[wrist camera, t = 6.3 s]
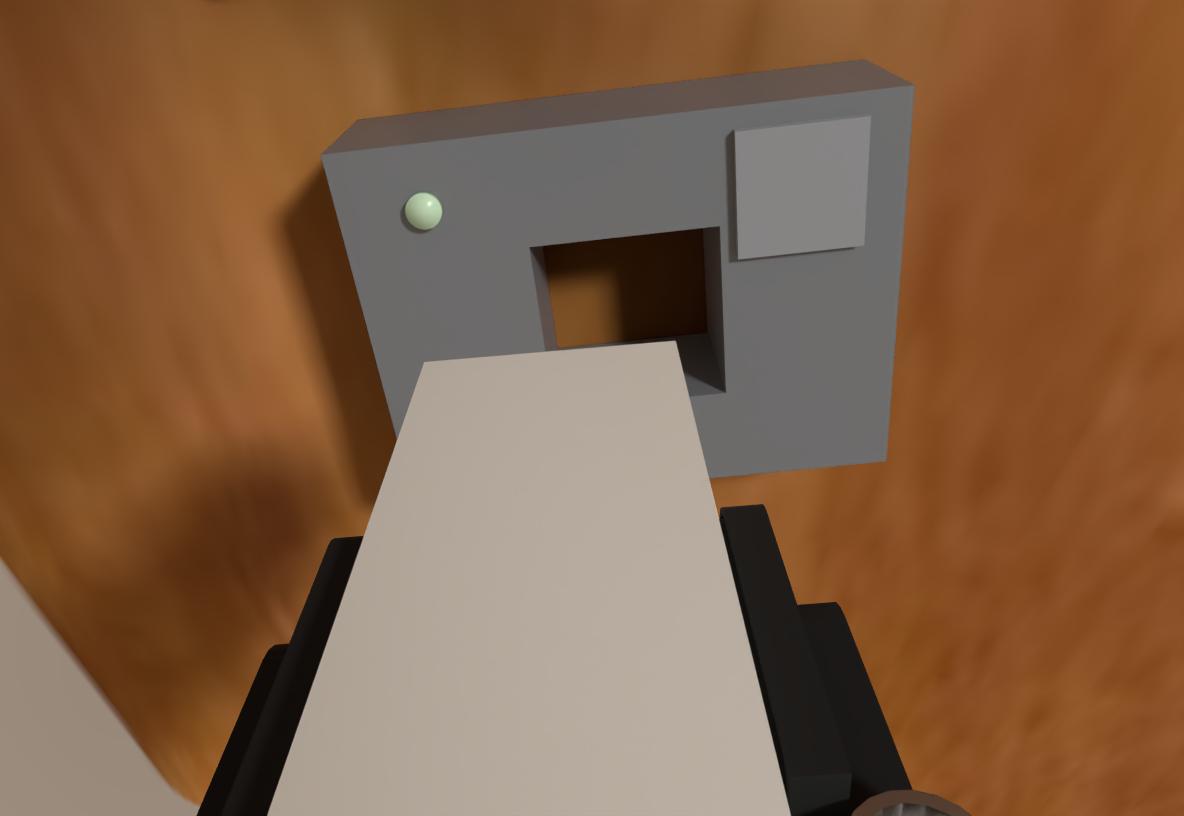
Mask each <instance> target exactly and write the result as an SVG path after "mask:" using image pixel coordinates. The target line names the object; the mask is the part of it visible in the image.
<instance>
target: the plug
mask: <svg viewBox="0 0 1184 816" xmlns="http://www.w3.org/2000/svg"><path fill="white" fill-rule="evenodd" d="M267 816H791V814H790V810H789V806H788V802H787V797H786V793H785V789H784V785H783V781H782V777H781V773H780V769H779V764H778V760H777V756H776V752H775V748H774V744H773V740H772V736H771V731H770V727H769V723H768V719H767V715H766V711H765V707H764V703H763V699H762V694H761V690H760V686H759V682H758V678H757V674H756V670H755V666H754V661H753V657H752V653H751V649H750V645H749V641H748V637H747V633H746V629H745V624H744V620H743V616H742V612H741V608H740V604H739V600H738V596H737V591H736V587H735V583H734V579H733V575H732V571H731V567H730V563H729V559H728V554H727V550H726V546H725V542H724V538H723V534H722V530H721V526H720V521H719V517H718V513H717V509H716V505H715V501H714V497H713V493H712V489H711V484H710V480H709V476H708V472H707V468H706V464H705V460H704V456H703V451H702V447H701V443H700V439H699V435H698V431H697V427H696V423H695V418H694V414H693V410H692V406H691V402H690V398H689V394H688V390H687V386H686V381H685V377H684V373H683V369H682V365H681V361H680V357H679V353H678V348H677V344H676V341H666V342H654V343H643V344H631V345H619V346H607V347H595V348H584V349H572V350H560V351H548V352H537V353H525V354H513V355H501V356H489V357H478V358H466V359H454V360H442V361H430V362H424V364H423V367H422V370H421V373H420V376H419V379H418V381H417V384H416V387H415V390H414V393H413V396H412V399H411V402H410V405H409V407H408V410H407V413H406V416H405V419H404V422H403V425H402V428H401V431H400V433H399V436H398V439H397V442H396V445H395V448H394V451H393V454H392V456H391V459H390V462H389V465H388V468H387V471H386V474H385V477H384V480H383V482H382V485H381V488H380V491H379V494H378V497H377V500H376V503H375V506H374V508H373V511H372V514H371V517H370V520H369V523H368V526H367V529H366V532H365V534H364V537H363V540H362V543H361V546H360V549H359V552H358V555H357V558H356V560H355V563H354V566H353V569H352V572H351V575H350V578H349V581H348V584H347V586H346V589H345V592H344V595H343V598H342V601H341V604H340V607H339V610H338V612H337V615H336V618H335V621H334V624H333V627H332V630H331V633H330V636H329V638H328V641H327V644H326V647H325V650H324V653H323V656H322V659H321V662H320V664H319V667H318V670H317V673H316V676H315V679H314V682H313V685H312V688H311V690H310V693H309V696H308V699H307V702H306V705H305V708H304V711H303V714H302V716H301V719H300V722H299V725H298V728H297V731H296V734H295V737H294V740H293V742H292V745H291V748H290V751H289V754H288V757H287V760H286V763H285V766H284V768H283V771H282V774H281V777H280V780H279V783H278V786H277V789H276V792H275V794H274V797H273V800H272V803H271V806H270V809H269V812H268V815H267Z"/></svg>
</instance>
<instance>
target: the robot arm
mask: <svg viewBox="0 0 1184 816" xmlns="http://www.w3.org/2000/svg"><path fill="white" fill-rule="evenodd" d="M719 521H720V526H721V530H722V534H723V538H724V542H725V546H726V550H727V554H728V559H729V563H730V567H731V571H732V575H733V579H734V583H735V587H736V591H737V596H738V600H739V604H740V608H741V612H742V616H743V620H744V624H745V629H746V633H747V637H748V641H749V645H750V649H751V653H752V657H753V661H754V666H755V670H756V674H757V678H758V682H759V686H760V690H761V694H762V699H763V703H764V707H765V711H766V715H767V719H768V723H769V727H770V731H771V736H772V740H773V744H774V748H775V752H776V756H777V760H778V764H779V769H780V773H781V777H782V781H783V785H784V789H785V793H786V797H787V802H788V806H789V810H790V814H791V816H972V815H970V814H969V813H968V812H966V811H965V810H964V809H963V808H961V807H960V806H958V805H956V804H954V803H952V802H950V801H948V800H946V799H944V798H941V797H939V796H937V795H934V794H929V793H925V792H920V791H916V790H912V787H911V784H910V782H909V779H908V777H907V774H906V772H905V769H904V767H903V764H902V761H901V759H900V756H899V754H898V751H897V749H896V746H895V744H894V741H893V738H892V736H891V733H890V731H889V728H888V726H887V723H886V720H885V718H884V715H883V713H882V710H881V708H880V705H879V703H878V700H877V697H876V695H875V692H874V690H873V687H872V685H871V682H870V680H869V677H868V674H867V672H866V669H865V667H864V664H863V662H862V659H861V656H860V654H859V651H858V649H857V646H856V644H855V641H854V639H853V636H852V633H851V631H850V628H849V626H848V623H847V621H846V618H845V616H844V614H843V611H842V609H841V607H840V606H839V605H838V604H837V603H836V602H830V603H817V604H804V605H797V603H796V600H795V597H794V594H793V591H792V588H791V585H790V581H789V578H788V575H787V572H786V569H785V566H784V563H783V560H782V557H781V554H780V551H779V548H778V545H777V542H776V539H775V536H774V533H773V529H772V526H771V523H770V520H769V517H768V514H767V511H766V509H765V506H764V505H763V504H760V505H747V506H735V507H722V508H721V509H720V519H719ZM363 537H364V536H357V537H345V538H334V539H333V540H331V542H330V543H329V545H328V548H327V550H326V553H325V555H324V558H323V560H322V563H321V565H320V568H319V570H318V573H317V575H316V578H315V580H314V583H313V585H312V588H311V590H310V593H309V595H308V598H307V600H306V603H305V605H304V608H303V610H302V613H301V615H300V618H299V620H298V623H297V626H296V628H295V631H294V633H293V636H292V638H291V641H290V643H289V644H279V645H274V646H273V647H272V648H270V649H269V650H268V652H267V654H266V655H265V657H264V659H263V661H262V663H261V665H260V668H259V670H258V672H257V675H256V677H255V680H254V682H253V684H252V687H251V689H250V691H249V694H248V696H247V698H246V701H245V703H244V705H243V708H242V710H241V712H240V715H239V717H238V720H237V722H236V724H235V727H234V729H233V731H232V734H231V736H230V738H229V741H228V743H227V745H226V748H225V750H224V752H223V755H222V757H221V759H220V762H219V764H218V767H217V769H216V771H215V774H214V776H213V778H212V781H211V783H210V785H209V788H208V790H207V792H206V795H205V797H204V799H203V802H202V804H201V807H200V809H199V811H198V814H197V816H267V815H268V812H269V809H270V806H271V803H272V800H273V797H274V794H275V792H276V789H277V786H278V783H279V780H280V777H281V774H282V771H283V768H284V766H285V763H286V760H287V757H288V754H289V751H290V748H291V745H292V742H293V740H294V737H295V734H296V731H297V728H298V725H299V722H300V719H301V716H302V714H303V711H304V708H305V705H306V702H307V699H308V696H309V693H310V690H311V688H312V685H313V682H314V679H315V676H316V673H317V670H318V667H319V664H320V662H321V659H322V656H323V653H324V650H325V647H326V644H327V641H328V638H329V636H330V633H331V630H332V627H333V624H334V621H335V618H336V615H337V612H338V610H339V607H340V604H341V601H342V598H343V595H344V592H345V589H346V586H347V584H348V581H349V578H350V575H351V572H352V569H353V566H354V563H355V560H356V558H357V555H358V552H359V549H360V546H361V543H362V540H363Z"/></svg>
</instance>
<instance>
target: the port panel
mask: <svg viewBox="0 0 1184 816" xmlns="http://www.w3.org/2000/svg"><path fill="white" fill-rule="evenodd" d="M914 89H915V85H914V84H912V83H910V82H908V81H906V80H904V79H902V78H900V77H898V76H896V75H894V74H892V73H890V72H889V71H887V70H885V69H883V68H881V67H879V66H877V65H875V64H873V63H871V62H869V61H867V60H857V61H848V62H840V63H832V64H823V65H815V66H806V67H798V68H790V69H781V70H773V71H764V72H756V73H748V74H739V75H731V76H722V77H714V78H706V79H697V80H689V81H680V82H672V83H664V84H655V85H647V86H638V87H630V88H622V89H613V90H605V91H596V92H588V93H580V94H571V95H563V96H554V97H546V98H538V99H529V100H521V101H512V102H504V103H496V104H487V105H479V106H470V107H462V108H454V109H445V110H437V111H428V112H420V113H412V114H403V115H395V116H386V117H378V118H370V119H361V120H357V121H356V122H355V123H354V124H353V125H352V126H351V127H350V128H349V129H348V130H347V131H345V132H344V133H343V134H342V135H341V136H340V137H339V138H338V139H337V140H336V141H335V142H334V143H333V144H332V145H331V146H329V147H328V148H327V149H326V150H325V151H324V152H323V153H322V154H321V158H322V162H323V165H324V169H325V173H326V177H327V180H328V184H329V188H330V192H331V195H332V199H333V203H334V206H335V210H336V214H337V218H338V221H339V225H340V229H341V233H342V236H343V240H344V244H345V247H346V251H347V255H348V259H349V262H350V266H351V270H352V274H353V277H354V281H355V285H356V288H357V292H358V296H359V300H360V303H361V307H362V311H363V315H364V318H365V322H366V326H367V329H368V333H369V337H370V341H371V344H372V348H373V352H374V356H375V359H376V363H377V367H378V370H379V374H380V378H381V382H382V385H383V389H384V393H385V397H386V400H387V404H388V408H389V411H390V415H391V419H392V423H393V426H394V430H395V434H396V438H397V439H398V436H399V433H400V431H401V428H402V425H403V422H404V419H405V416H406V413H407V410H408V407H409V405H410V402H411V399H412V396H413V393H414V390H415V387H416V384H417V381H418V379H419V376H420V373H421V370H422V367H423V364H424V362H430V361H442V360H454V359H466V358H478V357H489V356H501V355H513V354H525V353H537V352H548V351H560V350H572V349H584V348H595V347H607V346H619V345H631V344H643V343H654V342H666V341H676V344H677V348H678V353H679V357H680V361H681V365H682V369H683V373H684V377H685V381H686V386H687V390H688V394H689V398H690V402H691V406H692V410H693V414H694V418H695V423H696V427H697V431H698V435H699V439H700V443H701V447H702V451H703V456H704V460H705V464H706V468H707V472H708V476H709V478H719V477H729V476H739V475H750V474H760V473H770V472H780V471H790V470H801V469H811V468H821V467H831V466H841V465H852V464H862V463H872V462H882V461H886V457H887V444H888V430H889V417H890V404H891V391H892V378H893V365H894V351H895V338H896V325H897V312H898V299H899V286H900V273H901V259H902V246H903V233H904V220H905V207H906V194H907V181H908V167H909V154H910V141H911V128H912V115H913V102H914ZM698 228H703V245H704V266H705V287H706V309H707V330H708V333H699V334H690V335H680V336H671V337H661V338H652V339H642V340H633V341H623V342H614V343H604V344H595V345H586V346H576V347H567V348H557V341H556V334H555V327H554V320H553V313H552V307H551V300H550V293H549V286H548V279H547V272H546V266H545V259H544V252H543V246H545V245H554V244H563V243H572V242H581V241H590V240H599V239H608V238H617V237H626V236H635V235H644V234H653V233H662V232H671V231H680V230H689V229H698Z"/></svg>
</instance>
